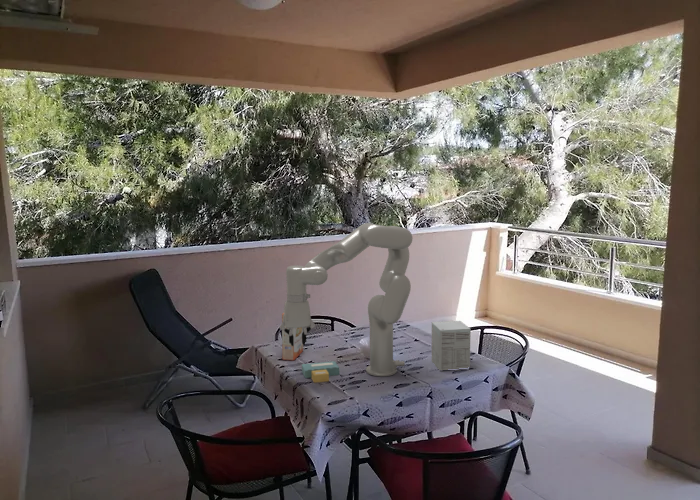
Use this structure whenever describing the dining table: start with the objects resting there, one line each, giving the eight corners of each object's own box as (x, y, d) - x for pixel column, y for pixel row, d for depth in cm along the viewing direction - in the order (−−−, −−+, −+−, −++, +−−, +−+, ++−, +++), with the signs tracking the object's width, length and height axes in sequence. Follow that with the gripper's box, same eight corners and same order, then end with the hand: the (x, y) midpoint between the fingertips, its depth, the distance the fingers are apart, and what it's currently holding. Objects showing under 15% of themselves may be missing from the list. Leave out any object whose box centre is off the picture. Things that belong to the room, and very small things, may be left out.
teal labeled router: (335, 368, 226) (334, 360, 225) (339, 374, 218) (339, 367, 218) (301, 371, 222) (301, 364, 222) (305, 378, 215) (304, 370, 214)
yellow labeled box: (326, 376, 216) (326, 369, 216) (328, 381, 211) (328, 373, 211) (311, 378, 215) (311, 370, 214) (313, 382, 210) (313, 375, 209)
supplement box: (470, 370, 222) (471, 328, 219) (439, 371, 220) (439, 330, 218) (460, 359, 235) (460, 320, 233) (430, 361, 233) (431, 321, 231)
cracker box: (295, 361, 235) (294, 314, 232) (281, 360, 236) (280, 313, 234) (304, 351, 249) (303, 306, 246) (291, 350, 250) (290, 306, 247)
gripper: (316, 294, 212) (317, 340, 214) (273, 297, 208) (275, 343, 210) (320, 298, 205) (320, 345, 207) (276, 301, 201) (277, 349, 203)
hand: (297, 344), depth 209 cm, fingers open, 3 cm apart
